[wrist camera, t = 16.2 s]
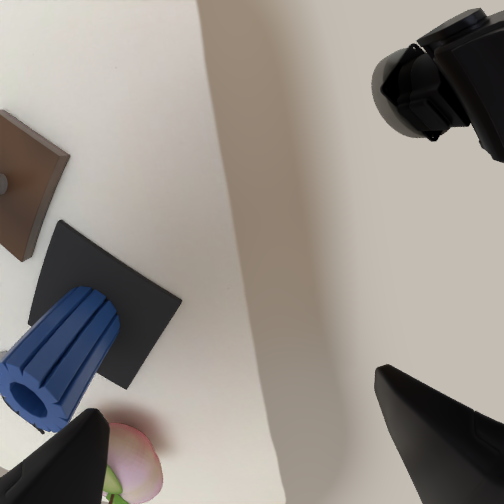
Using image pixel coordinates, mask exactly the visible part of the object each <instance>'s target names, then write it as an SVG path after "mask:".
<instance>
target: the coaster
mask: <svg viewBox="0 0 504 504" xmlns="http://www.w3.org/2000/svg"><path fill="white" fill-rule="evenodd" d="M79 286H84V287H91V288H92V291H93V290H94V289H96V290H97V291H99V292H100V293H102V294H103V295H105V296H106V299H105V301H107V300H110V301H111V303H112V304H113V306H114V307H115V309H116V310H117V312H116V313H115V314H116V315H119V322H120V328H119V330H120V331H119V333H118V335H117V337H116V339H115V340H114V342H113V344H112V346H111V347H110V349H109V351H108V352H107V354H106V356H105V358H104V359H103V361H102V363H101V365H100V366H99V368H98V370H97V373H98V374H100V375H102V376H103V377H105V378H107V379H108V380H110V381H112V382H114V383H115V384H117V385H119V386H120V387H122V388H124V389H126V390H127V388H128V387H129V385H130V383H131V382H132V380H133V378H134V377H135V375H136V374H137V372H138V370H139V369H140V367H141V366H142V364H143V362H144V361H145V359H146V358H147V356H148V354H149V353H150V351H151V350H152V348H153V346H154V345H155V343H156V342H157V340H158V339H159V337H160V335H161V334H162V332H163V331H164V329H165V328H166V326H167V324H168V323H169V321H170V320H171V318H172V317H173V315H174V314H175V312H176V311H177V309H178V307H179V306H180V304H181V302H182V300H181V299H179V298H177V297H176V296H174V295H173V294H171V293H169V292H168V291H166V290H164V289H163V288H161V287H160V286H158V285H156V284H155V283H153V282H152V281H150V280H148V279H147V278H145V277H144V276H142V275H141V274H139V273H137V272H136V271H134V270H133V269H131V268H130V267H128V266H127V265H125V264H124V263H122V262H121V261H119V260H118V259H116V258H115V257H113V256H112V255H110V254H109V253H107V252H106V251H104V250H103V249H101V248H100V247H99V246H97V245H96V244H94V243H93V242H91V241H90V240H88V239H87V238H86V237H84V236H83V235H81V234H80V233H79V232H77V231H76V230H74V229H73V228H72V227H70V226H69V225H68V224H66V223H65V222H63V221H62V220H59V221H58V222H57V225H56V227H55V230H54V233H53V236H52V238H51V241H50V244H49V247H48V250H47V253H46V256H45V259H44V263H43V266H42V269H41V273H40V276H39V279H38V283H37V287H36V291H35V294H34V298H33V302H32V307H31V311H30V315H29V320H28V324H29V325H30V326H31V327H32V326H33V325H34V324H35V323H36V322H37V321H38V320H39V319H40V318H41V317H42V316H43V315H44V314H45V313H46V312H47V311H48V310H49V309H50V308H51V307H52V306H53V305H54V304H55V303H57V302H58V301H59V300H60V299H61V298H62V297H63V296H64V295H65V294H66V293H67V292H68V291H70V290H72V289H73V288H75V287H77V288H78V287H79ZM105 301H104V302H105Z"/></svg>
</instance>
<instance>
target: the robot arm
mask: <svg viewBox="0 0 504 504" xmlns="http://www.w3.org/2000/svg"><path fill="white" fill-rule="evenodd" d="M417 42H418V44H419V45H420V46H421V47H423V48H424V49H425V51H426V52H427V53H426V52H425V51H423V50H422V49H421V48H420V47H419V46H418V45H417V44H415V43H412V44H411V45H409V47H408V48H407V49H406V51H405V52H404V54H403V55H402V57H401V58H400V59H399V61H398V62H397V64H396V65H395V67H394V68H393V69H392V71H391V72H390V74H389V75H388V77H387V78H386V79H385V81H384V82H383V84H382V85H381V87H380V91H381V93H382V95H384V96H385V97H386V98H387V99H388V100H389V101H390V102H391V103H392V104H393V105H395V106H396V107H397V109H398V112H399V113H400V114H401V115H402V116H403V117H404V118H405V119H406V120H408V121H409V122H410V123H411V124H412V126H413V127H414V128H415V129H416V130H417V131H421V132H422V133H423V134H424V135H425V137H426V138H427V139H429V140H430V141H431V142H435V141H437V140H438V138H439V137H440V135H441V133H442V132H443V130H449V129H450V127H468V126H469V125H470V123H471V124H472V126H473V128H474V130H475V132H476V134H477V136H478V138H479V143H480V145H481V147H482V148H483V149H485V150H486V151H487V152H488V153H489V154H490V155H491V156H492V158H493V160H496V161H499V162H502V163H504V11H501V12H498V13H496V14H493V15H491V16H488V17H487V16H486V14H485V13H484V11H483V10H482V9H481V8H476V9H471V10H467V11H465V12H463V13H461V14H459V15H458V16H455V17H453V18H452V19H450V20H448V21H446V22H445V23H443V24H441V25H440V26H438V27H437V28H435V29H434V30H432V31H430V32H429V33H427V34H426V35H424V36H423V37H421V38H420V39H418V40H417ZM413 47H414V48H415V49H416V51H415V50H414V48H413ZM385 87H386V88H387V89H388V92H386V91H385ZM432 134H433V135H434V137H433V138H432ZM374 389H375V393H376V396H377V399H378V402H379V405H380V407H381V410H382V413H383V416H384V419H385V422H386V425H387V428H388V431H389V433H390V435H391V437H392V439H393V441H394V443H395V446H396V448H397V450H398V452H399V454H400V456H401V458H402V460H403V462H404V464H405V466H406V468H407V471H408V473H409V475H410V477H411V479H412V481H413V484H414V486H415V488H416V490H417V492H418V494H419V497H420V499H421V501H422V503H423V504H504V424H503V423H500V422H498V421H495V420H494V419H491V418H489V417H487V416H485V415H483V414H481V413H479V412H477V411H474V410H473V409H471V408H469V407H467V406H465V405H463V404H461V403H460V402H457V401H456V400H454V399H452V398H450V397H448V396H446V395H444V394H442V393H441V392H439V391H437V390H435V389H433V388H432V387H430V386H428V385H426V384H424V383H422V382H420V381H419V380H417V379H415V378H413V377H411V376H409V375H408V374H406V373H404V372H402V371H400V370H399V369H397V368H395V367H393V366H391V365H389V364H386V365H383V366H380V367H378V368H376V370H375V383H374ZM109 438H110V426H109V424H108V422H107V421H106V419H105V418H104V416H103V415H102V414H101V412H100V411H99V410H98V409H94V408H88V409H86V410H84V411H83V412H82V413H81V414H80V415H78V416H77V417H76V418H75V419H74V420H72V421H71V422H70V423H69V424H67V425H66V426H65V427H64V428H63V429H61V430H60V431H59V432H58V433H56V434H55V435H54V436H53V437H52V438H50V439H49V440H48V441H47V442H45V443H44V444H43V445H42V446H40V447H39V448H38V449H37V450H36V451H34V452H33V453H32V454H31V455H29V456H28V457H27V458H26V459H24V460H23V462H21V463H19V464H18V465H17V466H16V467H14V468H13V469H12V470H10V471H9V472H8V473H7V474H5V475H3V476H2V477H0V504H101V500H102V493H103V487H104V481H105V475H106V469H107V461H108V449H109Z"/></svg>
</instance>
